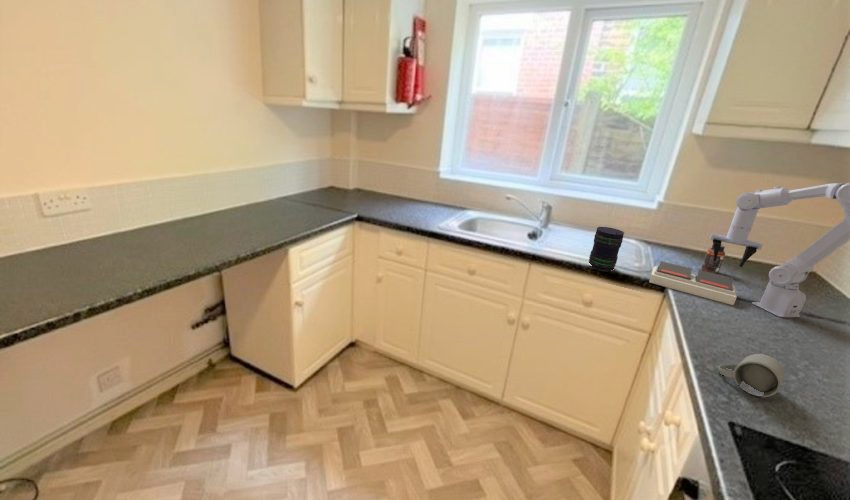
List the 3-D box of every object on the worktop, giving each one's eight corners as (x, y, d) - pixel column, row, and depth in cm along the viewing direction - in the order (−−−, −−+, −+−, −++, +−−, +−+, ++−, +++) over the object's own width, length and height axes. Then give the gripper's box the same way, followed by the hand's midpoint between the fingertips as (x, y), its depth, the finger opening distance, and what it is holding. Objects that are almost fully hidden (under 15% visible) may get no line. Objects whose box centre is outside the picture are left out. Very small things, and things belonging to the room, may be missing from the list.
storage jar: (582, 262, 153) (590, 226, 148) (601, 261, 157) (610, 226, 152) (600, 272, 145) (610, 234, 140) (620, 270, 148) (630, 234, 143)
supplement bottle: (721, 275, 154) (731, 248, 150) (705, 272, 155) (714, 246, 151) (713, 269, 160) (723, 244, 156) (698, 267, 160) (707, 242, 157)
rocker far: (691, 271, 139) (692, 268, 139) (689, 281, 134) (690, 278, 134) (659, 263, 144) (660, 260, 144) (656, 273, 140) (657, 270, 139)
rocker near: (731, 280, 133) (733, 277, 132) (730, 292, 128) (731, 289, 128) (697, 272, 138) (698, 269, 137) (695, 283, 134) (696, 280, 133)
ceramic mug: (778, 389, 85) (791, 360, 82) (772, 405, 80) (786, 374, 77) (721, 365, 92) (732, 337, 90) (712, 378, 87) (723, 349, 84)
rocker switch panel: (731, 293, 136) (735, 283, 135) (733, 305, 126) (737, 294, 125) (652, 273, 149) (655, 263, 147) (648, 282, 139) (652, 272, 138)
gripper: (765, 229, 132) (751, 265, 137) (715, 220, 139) (703, 255, 144) (768, 233, 126) (753, 271, 131) (715, 223, 134) (703, 259, 138)
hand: (727, 263), depth 137 cm, fingers open, 7 cm apart
